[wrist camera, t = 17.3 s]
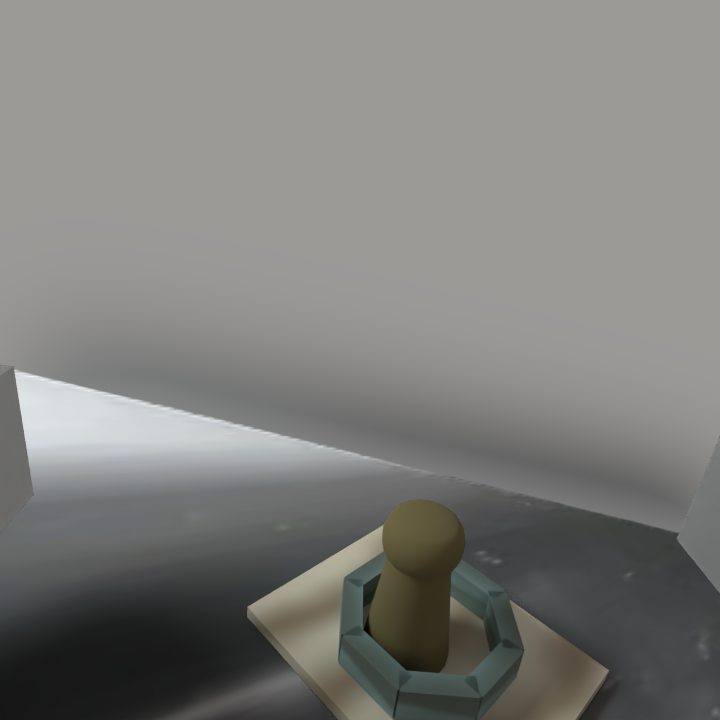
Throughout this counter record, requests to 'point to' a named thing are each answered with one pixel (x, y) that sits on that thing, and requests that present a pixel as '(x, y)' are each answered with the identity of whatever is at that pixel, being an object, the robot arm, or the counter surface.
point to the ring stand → (412, 688)
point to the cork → (416, 585)
